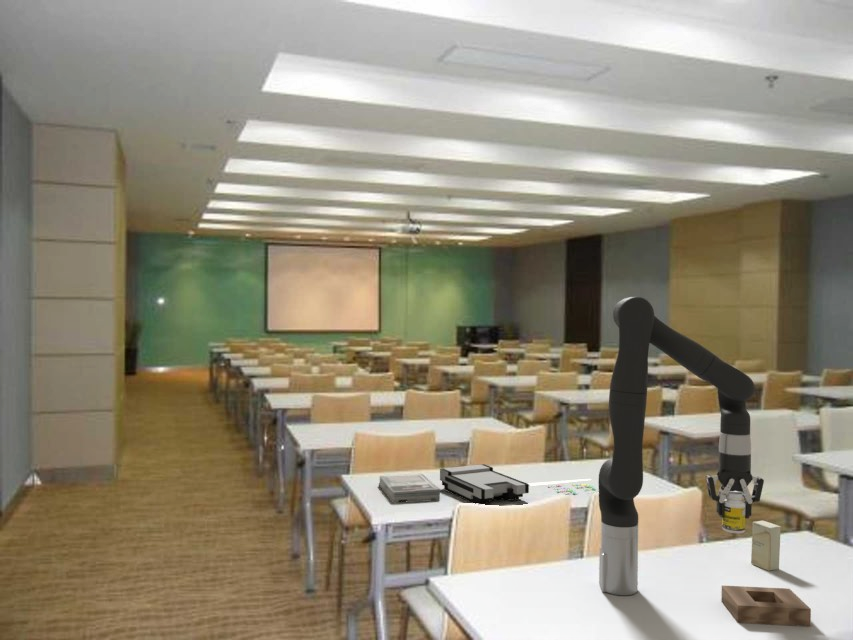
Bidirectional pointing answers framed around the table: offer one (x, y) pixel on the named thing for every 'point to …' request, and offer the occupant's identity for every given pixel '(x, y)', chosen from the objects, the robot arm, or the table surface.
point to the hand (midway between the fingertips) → (733, 516)
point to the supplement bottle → (734, 513)
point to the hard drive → (409, 487)
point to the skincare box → (765, 545)
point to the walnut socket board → (765, 606)
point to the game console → (481, 484)
